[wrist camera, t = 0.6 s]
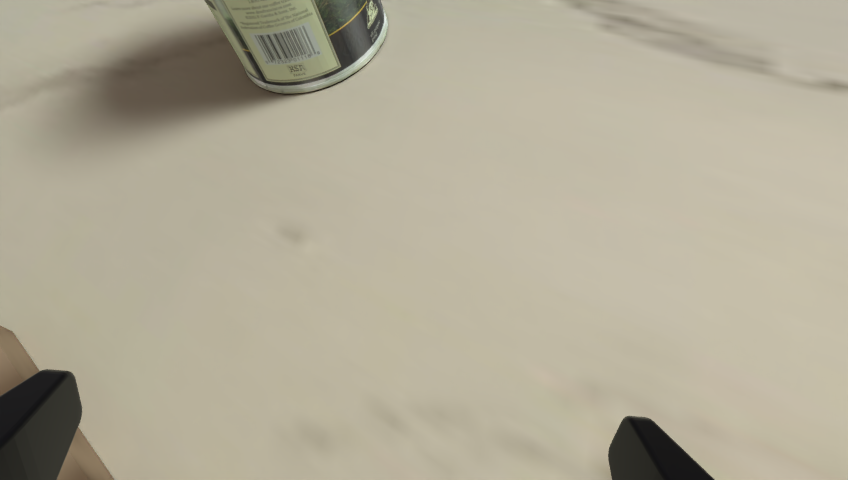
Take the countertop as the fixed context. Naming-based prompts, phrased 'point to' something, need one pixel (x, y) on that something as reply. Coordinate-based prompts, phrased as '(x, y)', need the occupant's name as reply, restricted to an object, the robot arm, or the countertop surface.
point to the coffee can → (301, 39)
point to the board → (82, 469)
